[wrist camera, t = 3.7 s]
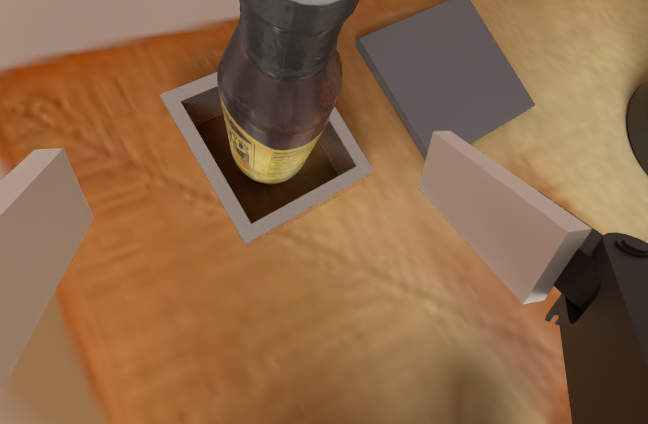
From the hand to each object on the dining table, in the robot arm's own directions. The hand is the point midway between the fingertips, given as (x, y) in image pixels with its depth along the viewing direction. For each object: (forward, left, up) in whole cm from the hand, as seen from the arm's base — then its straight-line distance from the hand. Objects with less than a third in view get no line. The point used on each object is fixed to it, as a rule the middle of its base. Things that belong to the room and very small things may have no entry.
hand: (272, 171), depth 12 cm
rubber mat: (-23, -4, -15) cm, 28 cm away
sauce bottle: (-3, -5, -16) cm, 17 cm away
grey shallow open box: (-3, -5, -15) cm, 16 cm away
